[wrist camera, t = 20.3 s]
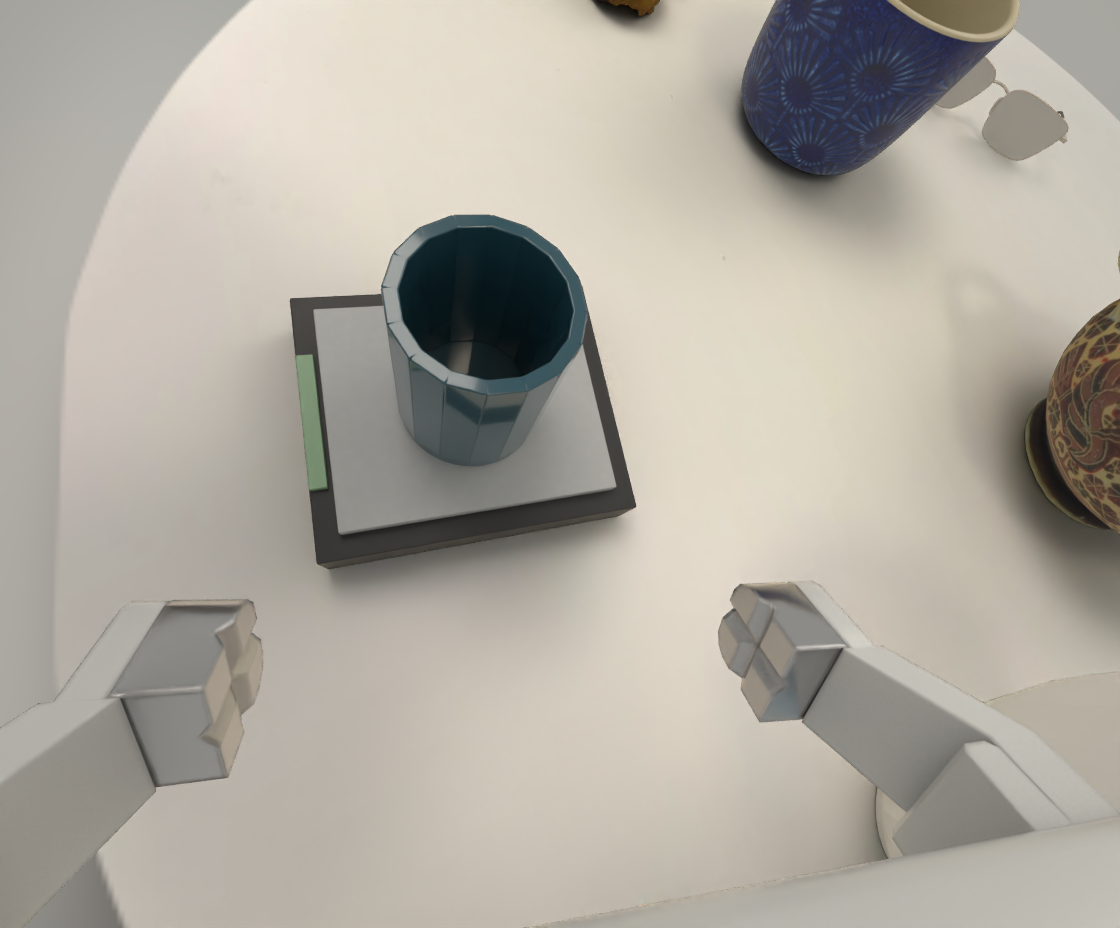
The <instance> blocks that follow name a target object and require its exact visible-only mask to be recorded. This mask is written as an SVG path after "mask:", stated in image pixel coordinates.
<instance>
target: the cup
mask: <svg viewBox="0 0 1120 928" xmlns="http://www.w3.org/2000/svg"><path fill="white" fill-rule="evenodd" d="M381 294H382V300H383V307H384V314H385V321H386V327H387V334H388V341H389V348H390V354H391V361H392V368H393V374H394V381H395V388H396V395H397V401H398V408H399V414H400V417H401V419H402V422H403V424H404V426H405V428H406V430H407V432H408V433H409V435H410V436H411V437H412V439H413V440H414V441H415V442H416V443H417V444H418V445H419V446H420V447H421V448H422V449H423V450H425V451H426V452H427V453H429V454H430V455H432V456H434V457H435V458H438V459H440V460H442V461H444V462H448V463H451V464H455V465H460V466H483V465H488V464H492V463H495V462H498V461H500V460H502V459H504V458H506V457H508V456H510V455H511V454H512V453H514V452H515V451H516V450H518V449H519V448H520V447H521V446H522V445H523V443H524V442H525V441H526V440H527V438H528V437H529V435H530V434H531V432H532V431H533V429H534V428H535V427H536V425H537V423H538V421H539V420H540V418H541V416H542V414H543V413H544V411H545V409H546V407H547V406H548V404H549V402H550V401H551V399H552V397H553V395H554V394H555V392H556V390H557V388H558V387H559V385H560V383H561V381H562V380H563V378H564V376H565V374H566V373H567V371H568V369H569V367H570V366H571V364H572V362H573V360H574V359H575V357H576V355H577V353H578V352H579V350H580V348H581V346H582V343H583V338H584V332H585V327H586V321H587V316H588V313H587V312H588V310H587V306H586V302H585V298H584V294H583V290H582V286H581V282H580V279H579V277H578V275H577V274H576V273H575V271H574V270H573V268H572V267H571V265H570V264H569V263H568V261H567V260H566V258H565V257H564V256H563V254H562V253H561V251H560V250H558V248H557V247H556V246H554V245H553V244H551V243H550V242H549V241H547V240H546V239H544V238H543V237H542V236H540V235H539V234H538V233H536V232H535V231H533V230H532V229H531V228H529V227H528V228H527V226H525V225H522V224H519V223H515V222H512V221H509V220H506V219H503V218H500V217H497V216H494V215H492V216H491V215H453V216H452V215H451V216H448V217H446V218H443V219H440V220H438V221H435V222H433V223H430V224H427V225H425V226H422V227H420V228H419V229H417V230H416V231H415V232H414V233H413V234H412V235H411V236H409V237H408V238H407V239H406V240H405V241H404V242H403V243H402V244H401V245H400V246H399V247H398V248H397V249H396V250H395V251H394V252H393V254H392V256H391V259H390V262H389V265H388V267H387V270H386V273H385V276H384V279H383V282H382V285H381Z"/></svg>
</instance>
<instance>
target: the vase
mask: <svg viewBox="0 0 1120 928" xmlns="http://www.w3.org/2000/svg"><path fill="white" fill-rule="evenodd" d="M985 704H987V705H988V706H990V707H992V708H994V709H995V710H997V711H999V712H1001V713H1003V714H1004V715H1006V716H1008V717H1010V718H1011V719H1013V720H1015V721H1017V722H1018V723H1020V724H1022V725H1024V726H1026V727H1027V728H1029V729H1031V730H1033V731H1034V732H1036V733H1037V734H1038V735H1039V736H1040V737H1041V738H1042V739H1043V740H1044V741H1045V742H1046V743H1047V744H1049V745H1050V746H1051V747H1052V748H1053V749H1054V750H1055V751H1056V752H1057V753H1058V754H1059V755H1060V756H1061V757H1062V758H1063V759H1064V760H1065V761H1066V762H1067V763H1068V764H1069V765H1070V766H1071V767H1073V768H1074V769H1075V770H1076V771H1077V772H1078V773H1079V774H1080V775H1081V776H1082V777H1083V778H1084V779H1085V780H1086V781H1087V782H1088V783H1089V784H1090V785H1091V786H1092V787H1093V788H1094V789H1095V790H1097V791H1098V792H1099V793H1100V794H1101V795H1102V796H1103V797H1104V798H1105V799H1106V800H1107V801H1108V802H1109V803H1110V804H1111V805H1112V806H1113V807H1114V808H1115V809H1116V810H1117V811H1118V812H1119V813H1120V671H1119V672H1110V673H1101V674H1091V675H1084V676H1078V677H1072V678H1065V679H1059V680H1053V681H1049V682H1046V683H1043V684H1040V685H1037V686H1033V687H1030V688H1027V689H1024V690H1021V691H1018V692H1015V693H1012V694H1009V695H1005V696H1002V697H999V698H996V699H993V700H991V701H988V702H986V703H985ZM905 814H906V812H905V811H904V810H903V809H902V808H901V807H899V806H898V805H897V804H896V803H895V802H894V801H893V800H891V799H890V798H889V797H888V796H887V795H886V794H884V793H883V792H882V791H881V790H880V789H879V788H877V795H876V821H877V827H878V832H879V837H880V840H881V843H882V846H883V849H884V851H885V853H886V855H887V857H888V859H890V858H896V857H901V856H903V855H902V853H901V852H900V850H899V849H898V847H897V846H896V844H895V842H894V841H893V839H892V833H893V828H894V827H895V826H896V825H897V824H898V822H899V821H900V820H901V819H902V818H903V816H904V815H905Z"/></svg>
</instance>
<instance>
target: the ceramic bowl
mask: <svg viewBox="0 0 1120 928" xmlns="http://www.w3.org/2000/svg"><path fill="white" fill-rule="evenodd" d="M1118 267H1119V271H1120V252H1119V257H1118ZM1025 433H1026V434H1025V445H1026V451H1027V455H1028V459H1029V463H1030V466H1031V468H1032V470H1033V473H1034V475H1035V478H1036V480H1037V483H1038V484H1039V485H1040V487H1041V488H1042V490H1043V492H1044V493H1045V495H1046V497H1047V498H1048V499H1049V500H1050V501H1051V502H1052V503H1053V504H1054V505H1055V506H1057V507H1058V508H1059V509H1060V510H1061V511H1063V512H1064V513H1065V514H1067V515H1068V516H1069V517H1071V518H1072V519H1074V520H1076V521H1078V522H1080V523H1083V524H1085V525H1087V526H1089V527H1092V528H1099V529H1113V530H1115V531H1116V532H1117V533H1119V534H1120V299H1119V300H1117V301H1115V302H1113V303H1111V304H1110V305H1108V306H1107V307H1106V308H1104V309H1103V310H1102V311H1100V312H1099V313H1098V314H1096V315H1095V316H1093V317H1092V318H1091V319H1090V320H1089V321H1088V322H1087V324H1086V325H1085V326H1084V327H1083V328H1082V329H1081V330H1080V331H1079V332H1078V333H1077V334H1076V336H1075V337H1074V338H1073V340H1072V341H1071V343H1070V344H1069V345H1068V347H1067V348H1066V349H1065V351H1064V353H1063V355H1062V357H1061V359H1060V361H1059V363H1058V365H1057V367H1056V369H1055V371H1054V374H1053V377H1052V379H1051V382H1050V386H1049V392H1048V397H1047V398H1046V399H1044V400H1042V401H1040V402H1039V403H1038V404H1037V406H1036V407H1035V408H1034V409H1033V410H1032V412H1031V414H1030V416H1029V419H1028V421H1027V424H1026V430H1025Z"/></svg>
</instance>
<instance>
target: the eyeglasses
mask: <svg viewBox="0 0 1120 928" xmlns="http://www.w3.org/2000/svg"><path fill="white" fill-rule="evenodd" d="M995 77H996V70H995V67H994V66H993V64H992V63H991V62H990V61H989V60H988V59H987V58H986V57H984V58H983V59H982V60H981V61H980V62H979V63H978V64H976V65H975V66H974V67H973V68H972V69H971V70H970V71H969V72H968V73H967V74H966V75H965V76H964V77H963V78H962V79H961V80H960V81H959V82H958V83H957V84H956V85H955V86H954V87H952V88H951V89H950V90H949V91H948V92H947V93H946V94H945V95H944V96H943V97H942V98H941V99H940V100H939V101H938V102H937V103H936V105H938V106H941V107H943V108H954V107H957V106H959V105H961V104H963V103H965V102H967V101H969V100H971V99H972V98H974V97H975V96H977V95H978V94H980V93H981V92H982V91H984V90H985V89H986V88H987V87H989V86H990V85H991V83H992V82H993V83H996V84H999V85H1001V86H1002V87H1003V88H1004V89H1005V92H1006V94H1007V95H1006V96H1005V97H1001V98H999V99H998V100H997V101H996V103H995V104H994V105H993V107H992V108H991V110H990V112H989V117H988V118H987V120H986V122H985V124H984V127H983V130H982V135H983V137H984V139H985V140H986V142H987V143H988V144H989V145H990V146H991V147H992V148H993V149H994V150H995V151H997V152H998V153H1000V154H1001V155H1003V156H1004V157H1006V158H1008V159H1011V160H1015V161H1019V160H1024V159H1027V158H1029V157H1031V156H1033V155H1035V154H1037V153H1039V152H1041V151H1042V150H1044V149H1046V148H1047V147H1049V146H1051V145H1052V144H1054V143H1055V142H1057V141H1058V140H1060V141H1061V142H1062V143H1065V142H1067V134H1066V133H1067V132H1068V125H1067V123H1066V121H1065V120H1064V114H1063V112H1062V111H1058V112H1056V111H1055V110H1054V109H1053V108H1052V107H1051V106H1049V105H1048V104H1047V103H1046V102H1044V101H1043V100H1042V99H1040V98H1039V97H1037V96H1036V95H1034V94H1032V93H1030V92H1028V91H1025V90H1015V91H1012V92H1010V93H1009V91H1008V89H1007V87H1006V86H1005V85H1004V84H1003V83H1001V82H999V81H996V80H994V79H995ZM1058 113H1060V114H1061V116H1060V115H1059V114H1058Z"/></svg>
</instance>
